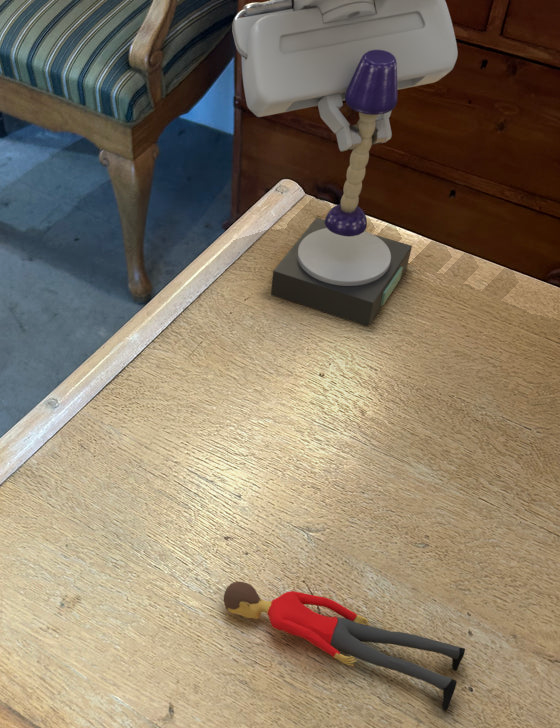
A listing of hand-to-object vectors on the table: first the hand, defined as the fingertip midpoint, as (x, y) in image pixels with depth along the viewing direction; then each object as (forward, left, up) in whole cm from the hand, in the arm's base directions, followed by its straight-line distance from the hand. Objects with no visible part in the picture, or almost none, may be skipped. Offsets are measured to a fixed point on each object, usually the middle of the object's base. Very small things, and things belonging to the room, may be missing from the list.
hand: (366, 145), depth 83 cm
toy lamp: (+1, 0, -9) cm, 9 cm away
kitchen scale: (0, 0, -16) cm, 16 cm away
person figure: (-26, +40, -14) cm, 50 cm away
